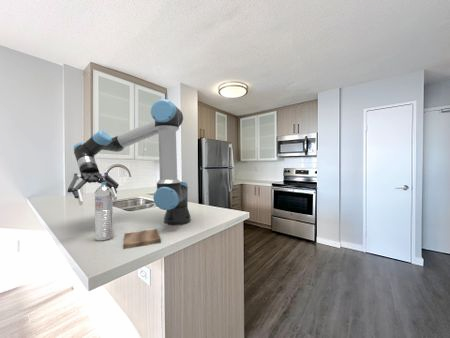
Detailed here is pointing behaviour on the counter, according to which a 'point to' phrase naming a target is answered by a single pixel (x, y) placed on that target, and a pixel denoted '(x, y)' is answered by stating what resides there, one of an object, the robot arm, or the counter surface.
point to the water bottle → (103, 213)
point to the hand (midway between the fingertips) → (99, 201)
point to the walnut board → (141, 238)
